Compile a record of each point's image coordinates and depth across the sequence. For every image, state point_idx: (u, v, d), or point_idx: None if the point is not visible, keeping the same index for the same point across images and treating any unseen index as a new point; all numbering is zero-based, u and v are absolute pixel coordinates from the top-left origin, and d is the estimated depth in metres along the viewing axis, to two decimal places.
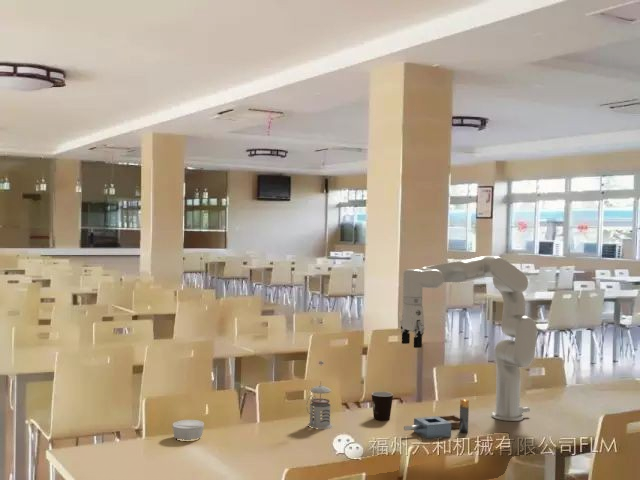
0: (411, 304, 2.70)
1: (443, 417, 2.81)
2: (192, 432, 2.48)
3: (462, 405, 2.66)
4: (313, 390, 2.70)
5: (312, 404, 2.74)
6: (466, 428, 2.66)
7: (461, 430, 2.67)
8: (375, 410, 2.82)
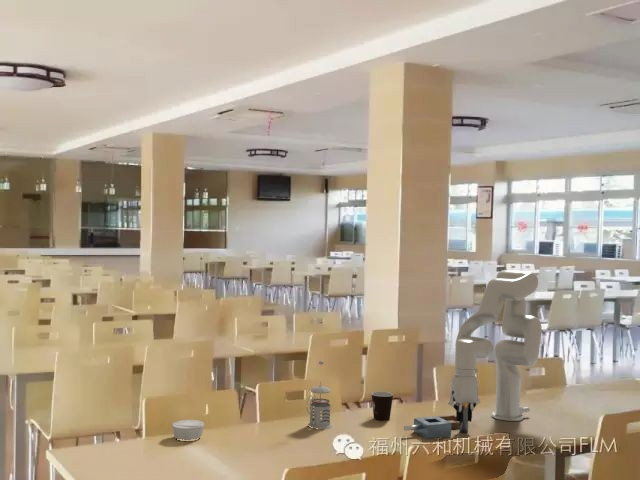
0: None
1: (443, 417, 2.81)
2: (192, 432, 2.48)
3: (462, 405, 2.66)
4: (313, 390, 2.70)
5: (312, 404, 2.74)
6: (466, 428, 2.66)
7: (461, 430, 2.67)
8: (375, 410, 2.82)
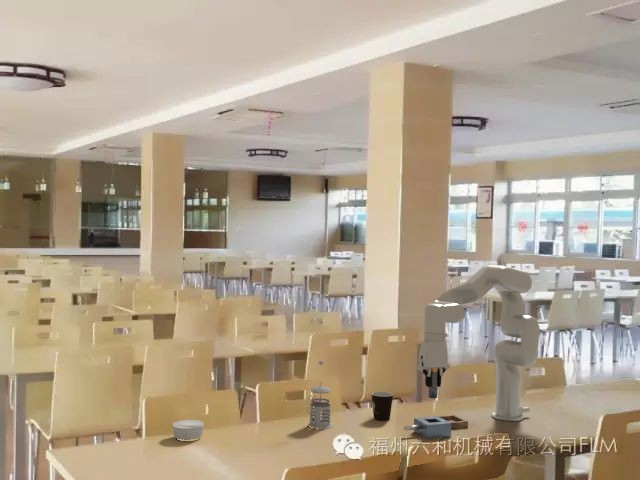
0: (444, 340, 2.63)
1: (443, 417, 2.81)
2: (192, 432, 2.48)
3: (431, 370, 2.62)
4: (313, 390, 2.70)
5: (312, 404, 2.74)
6: (435, 393, 2.62)
7: (430, 395, 2.63)
8: (375, 410, 2.82)
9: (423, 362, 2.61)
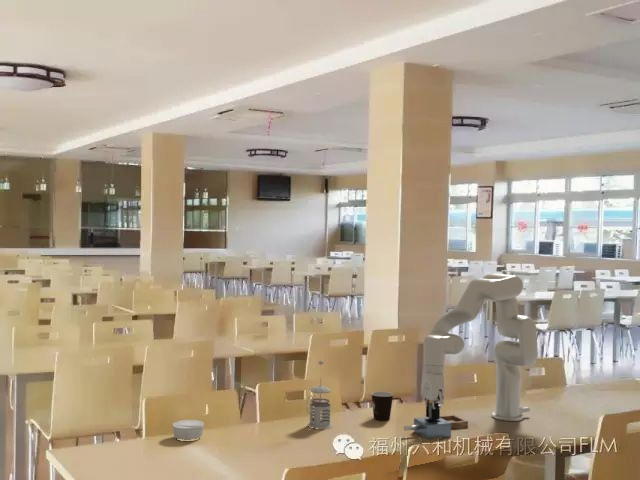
0: None
1: (443, 417, 2.81)
2: (192, 432, 2.48)
3: (436, 402, 2.63)
4: (313, 390, 2.70)
5: (312, 404, 2.74)
6: None
7: None
8: (375, 410, 2.82)
9: (442, 395, 2.60)
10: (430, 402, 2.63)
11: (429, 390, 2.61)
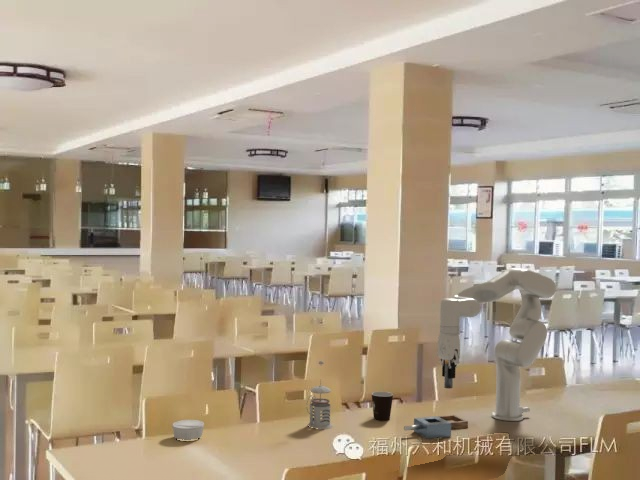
0: None
1: (443, 417, 2.81)
2: (192, 432, 2.48)
3: None
4: (313, 390, 2.70)
5: (312, 404, 2.74)
6: None
7: (451, 386, 2.75)
8: (375, 410, 2.82)
9: (458, 355, 2.72)
10: (446, 362, 2.75)
11: (445, 350, 2.74)
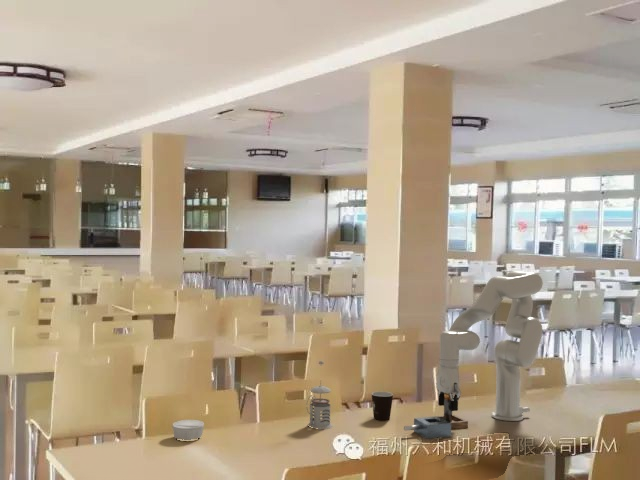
0: None
1: (443, 417, 2.81)
2: (192, 432, 2.48)
3: None
4: (313, 390, 2.70)
5: (312, 404, 2.74)
6: None
7: (451, 421, 2.76)
8: (375, 410, 2.82)
9: None
10: (445, 397, 2.76)
11: (445, 383, 2.74)
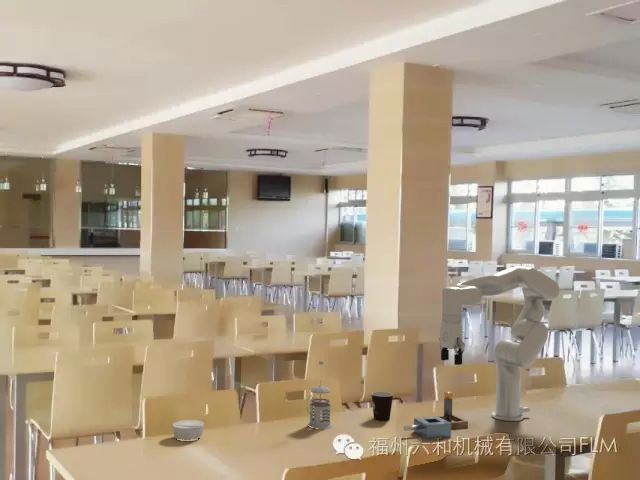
0: None
1: (443, 417, 2.81)
2: (192, 432, 2.48)
3: (451, 397, 2.76)
4: (313, 390, 2.70)
5: (312, 404, 2.74)
6: None
7: (451, 421, 2.76)
8: (375, 410, 2.82)
9: None
10: (445, 397, 2.76)
11: (448, 338, 2.74)
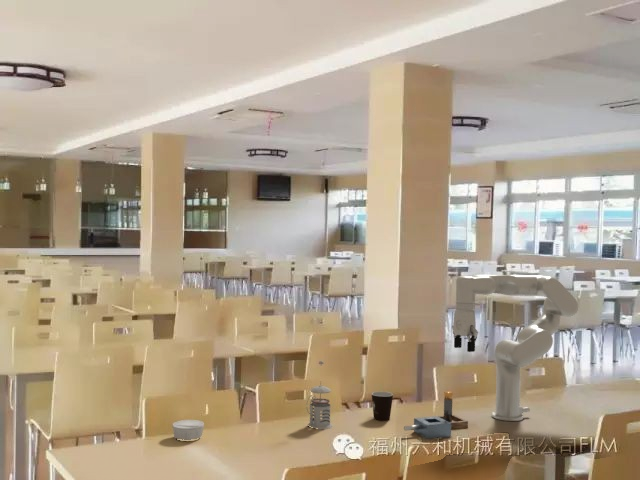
0: None
1: (443, 417, 2.81)
2: (192, 432, 2.48)
3: None
4: (313, 390, 2.70)
5: (312, 404, 2.74)
6: None
7: (451, 421, 2.76)
8: (375, 410, 2.82)
9: None
10: (445, 397, 2.76)
11: (461, 326, 2.82)
